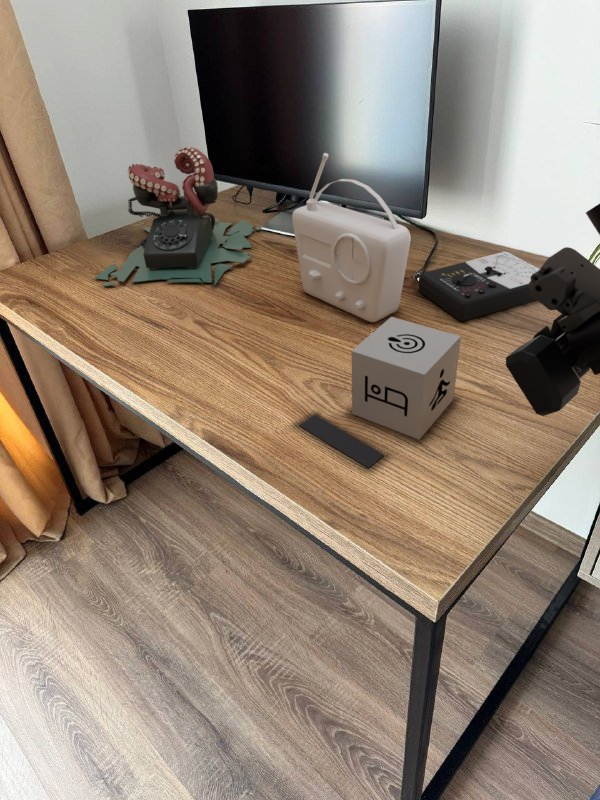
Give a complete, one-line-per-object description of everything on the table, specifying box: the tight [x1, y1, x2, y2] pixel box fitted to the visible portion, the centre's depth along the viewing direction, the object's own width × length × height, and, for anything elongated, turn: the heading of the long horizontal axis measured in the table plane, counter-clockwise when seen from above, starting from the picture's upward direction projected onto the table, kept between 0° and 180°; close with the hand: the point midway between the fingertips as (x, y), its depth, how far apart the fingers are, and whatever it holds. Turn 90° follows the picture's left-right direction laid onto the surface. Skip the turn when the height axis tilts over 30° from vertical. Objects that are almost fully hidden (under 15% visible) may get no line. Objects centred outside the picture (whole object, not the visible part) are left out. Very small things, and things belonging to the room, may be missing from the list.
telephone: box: [94, 146, 262, 287], centre depth 122 cm, size 35×32×20 cm
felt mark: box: [298, 414, 385, 469], centre depth 75 cm, size 12×3×1 cm, turn 44°
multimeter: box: [418, 251, 540, 322], centre depth 102 cm, size 13×19×5 cm
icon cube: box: [351, 316, 462, 441], centre depth 76 cm, size 10×10×10 cm
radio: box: [291, 152, 412, 323], centre depth 97 cm, size 22×8×25 cm, turn 42°
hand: (513, 371), depth 63 cm, fingers closed
